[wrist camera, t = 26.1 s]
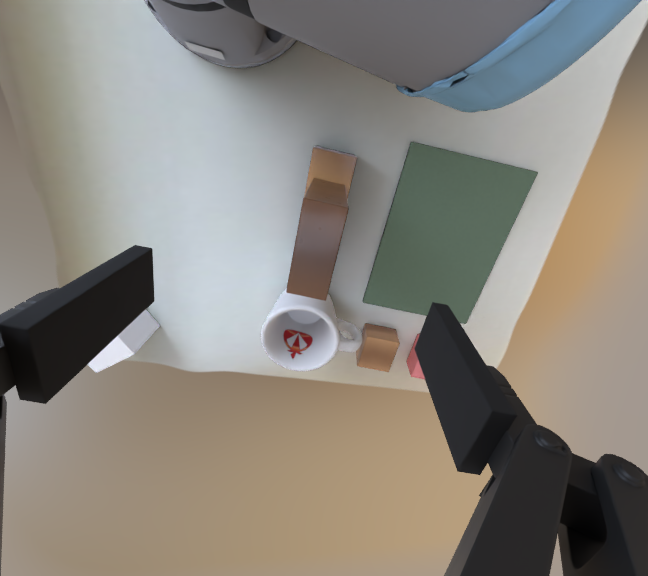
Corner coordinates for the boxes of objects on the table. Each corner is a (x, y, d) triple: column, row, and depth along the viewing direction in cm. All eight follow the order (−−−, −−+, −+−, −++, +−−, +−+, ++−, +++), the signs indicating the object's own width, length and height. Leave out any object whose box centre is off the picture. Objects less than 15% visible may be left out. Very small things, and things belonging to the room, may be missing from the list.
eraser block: (417, 333, 41) (423, 347, 39) (447, 339, 42) (455, 354, 39) (406, 361, 43) (410, 376, 41) (435, 367, 44) (441, 382, 41)
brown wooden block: (315, 145, 32) (303, 154, 20) (355, 154, 33) (366, 169, 20) (294, 257, 37) (274, 320, 25) (328, 264, 38) (325, 330, 25)
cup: (370, 291, 39) (378, 328, 32) (347, 343, 42) (350, 387, 35) (283, 264, 38) (270, 296, 31) (266, 320, 41) (252, 360, 34)
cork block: (364, 322, 41) (366, 336, 38) (395, 329, 41) (400, 343, 38) (355, 351, 43) (357, 366, 40) (385, 357, 43) (388, 372, 40)
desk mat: (410, 141, 32) (411, 141, 32) (536, 171, 33) (538, 172, 32) (362, 301, 40) (362, 302, 39) (464, 322, 40) (465, 324, 40)
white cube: (128, 288, 40) (95, 312, 35) (160, 325, 42) (134, 353, 37) (92, 308, 41) (56, 334, 36) (125, 343, 44) (96, 373, 38)
